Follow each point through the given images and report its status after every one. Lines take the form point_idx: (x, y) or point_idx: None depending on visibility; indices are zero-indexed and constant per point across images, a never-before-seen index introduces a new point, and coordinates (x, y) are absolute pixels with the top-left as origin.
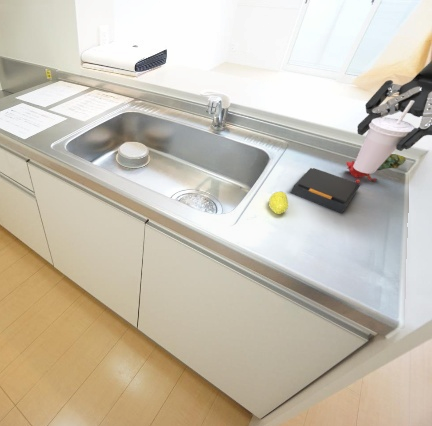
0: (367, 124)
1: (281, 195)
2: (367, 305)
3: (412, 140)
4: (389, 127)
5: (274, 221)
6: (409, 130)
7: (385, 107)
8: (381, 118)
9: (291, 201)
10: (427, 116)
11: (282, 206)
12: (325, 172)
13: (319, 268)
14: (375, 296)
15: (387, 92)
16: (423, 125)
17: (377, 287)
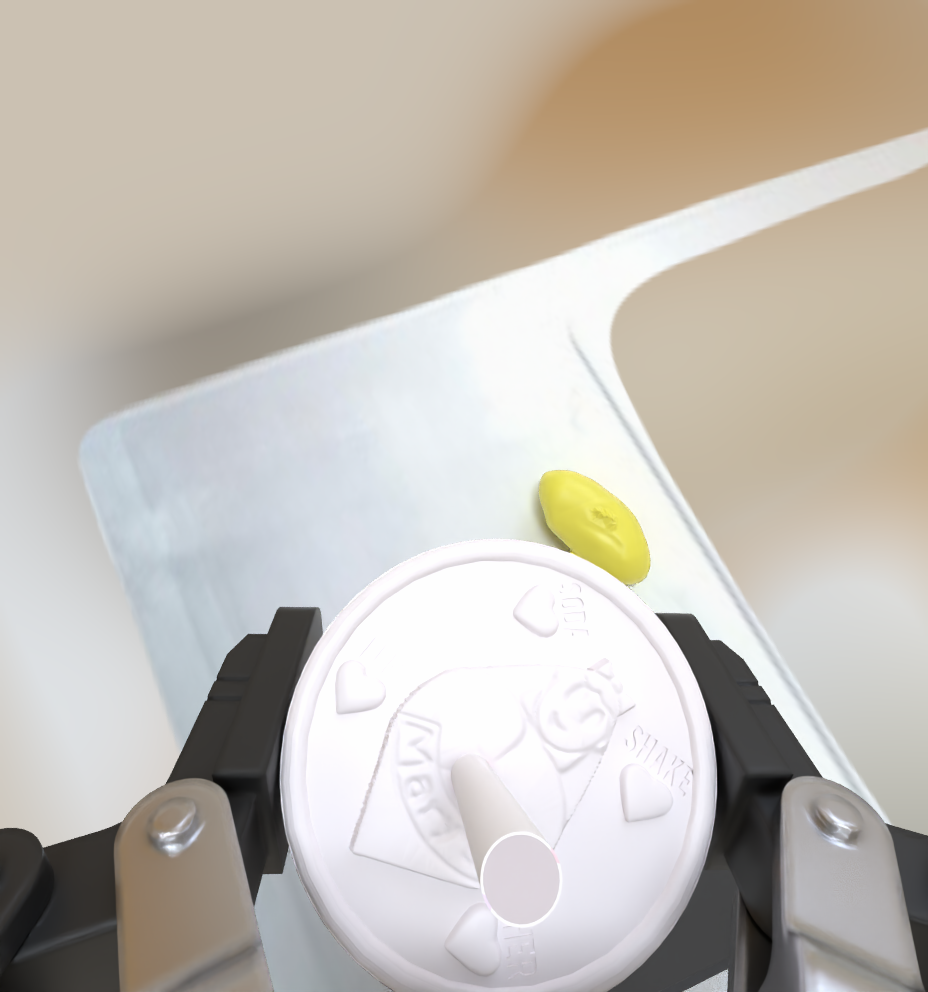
0: None
1: (609, 521)
2: (143, 410)
3: (228, 679)
4: (472, 630)
5: (525, 465)
6: (301, 722)
7: (813, 902)
8: (684, 827)
9: None
10: (190, 973)
11: (554, 482)
12: (700, 963)
13: (298, 412)
14: (144, 460)
15: None
16: (186, 811)
17: (156, 498)
